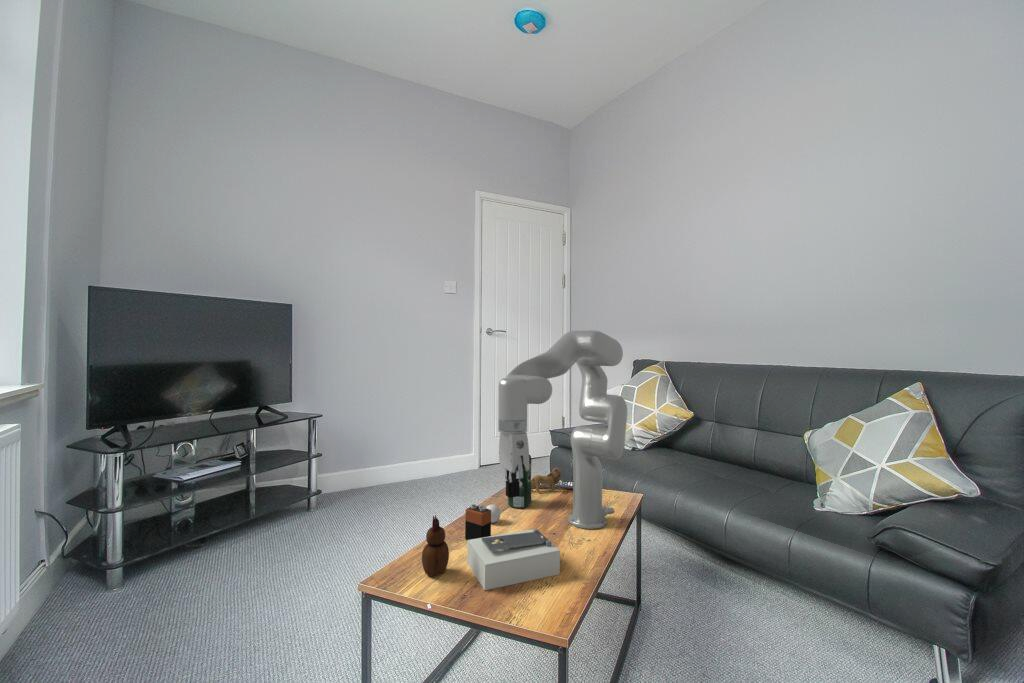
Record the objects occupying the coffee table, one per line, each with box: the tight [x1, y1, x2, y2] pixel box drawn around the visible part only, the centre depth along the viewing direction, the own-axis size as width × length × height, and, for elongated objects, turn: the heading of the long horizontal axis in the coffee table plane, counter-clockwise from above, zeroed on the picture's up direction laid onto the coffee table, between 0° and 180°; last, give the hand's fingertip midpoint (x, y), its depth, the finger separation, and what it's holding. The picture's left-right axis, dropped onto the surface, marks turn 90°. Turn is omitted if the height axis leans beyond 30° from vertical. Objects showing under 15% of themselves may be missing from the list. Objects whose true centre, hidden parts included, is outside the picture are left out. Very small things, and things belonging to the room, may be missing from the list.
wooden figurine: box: [421, 515, 450, 578], centre depth 109 cm, size 7×6×15 cm
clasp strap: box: [482, 531, 549, 551], centre depth 112 cm, size 17×6×1 cm, turn 113°
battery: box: [464, 504, 492, 541], centre depth 128 cm, size 4×7×10 cm, turn 55°
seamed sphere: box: [485, 503, 501, 524], centre depth 141 cm, size 8×6×6 cm
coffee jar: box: [507, 454, 532, 509], centre depth 158 cm, size 10×8×19 cm
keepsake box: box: [466, 528, 561, 591], centre depth 112 cm, size 20×14×8 cm
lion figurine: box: [531, 467, 563, 494], centre depth 173 cm, size 15×5×9 cm, turn 111°
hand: (512, 496), depth 112 cm, fingers closed
